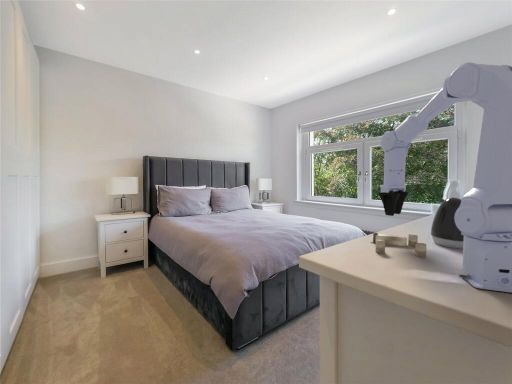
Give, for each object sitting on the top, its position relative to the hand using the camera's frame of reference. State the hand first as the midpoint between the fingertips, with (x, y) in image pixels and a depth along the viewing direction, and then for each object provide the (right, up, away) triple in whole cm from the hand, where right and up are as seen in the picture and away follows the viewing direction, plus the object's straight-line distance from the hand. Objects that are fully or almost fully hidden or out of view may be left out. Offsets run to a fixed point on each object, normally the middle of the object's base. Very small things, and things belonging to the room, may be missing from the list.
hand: (393, 214), depth 73 cm
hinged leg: (-4, -8, -4) cm, 10 cm away
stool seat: (-5, -10, -9) cm, 14 cm away
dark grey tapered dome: (+15, -10, -4) cm, 18 cm away
